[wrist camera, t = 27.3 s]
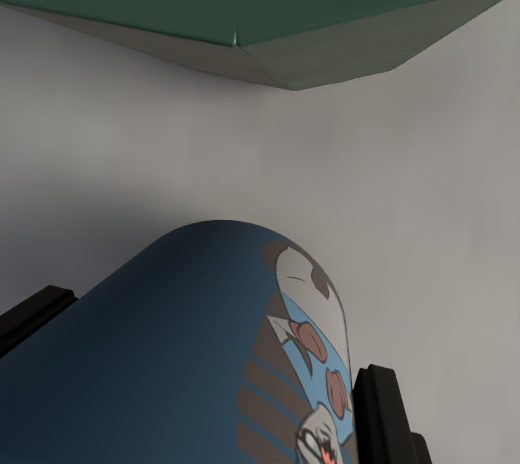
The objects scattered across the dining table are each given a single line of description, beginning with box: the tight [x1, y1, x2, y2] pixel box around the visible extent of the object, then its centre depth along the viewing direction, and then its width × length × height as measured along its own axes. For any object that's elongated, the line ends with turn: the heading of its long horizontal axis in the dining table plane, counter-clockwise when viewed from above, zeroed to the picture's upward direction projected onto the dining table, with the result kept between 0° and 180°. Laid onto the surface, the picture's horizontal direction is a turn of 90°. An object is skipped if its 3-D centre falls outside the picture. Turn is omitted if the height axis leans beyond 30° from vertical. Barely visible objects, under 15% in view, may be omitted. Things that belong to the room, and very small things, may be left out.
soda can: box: [0, 220, 360, 464], centre depth 9 cm, size 7×7×12 cm
